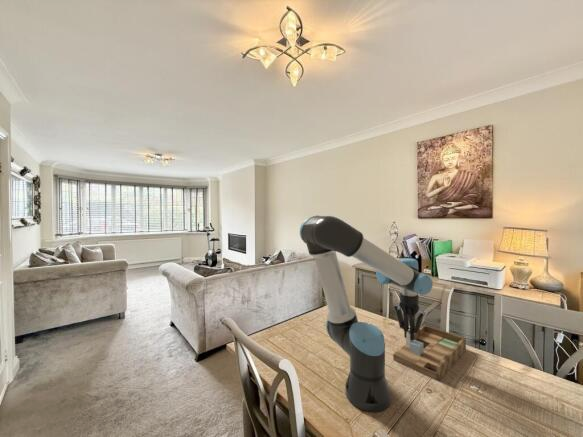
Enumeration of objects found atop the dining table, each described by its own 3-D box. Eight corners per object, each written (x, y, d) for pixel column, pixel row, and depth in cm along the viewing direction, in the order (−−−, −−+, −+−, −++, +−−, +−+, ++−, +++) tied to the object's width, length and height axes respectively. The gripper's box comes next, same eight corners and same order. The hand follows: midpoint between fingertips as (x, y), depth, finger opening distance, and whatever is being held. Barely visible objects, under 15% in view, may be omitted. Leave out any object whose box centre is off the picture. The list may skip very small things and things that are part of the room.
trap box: (439, 381, 92) (439, 367, 91) (393, 360, 105) (393, 347, 105) (465, 349, 112) (465, 338, 112) (424, 335, 126) (424, 324, 126)
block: (419, 355, 104) (419, 346, 104) (410, 351, 107) (410, 342, 107) (423, 352, 106) (423, 343, 106) (414, 348, 109) (414, 339, 109)
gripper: (428, 295, 106) (428, 348, 106) (398, 288, 116) (399, 337, 116) (420, 299, 101) (421, 355, 101) (390, 292, 111) (391, 343, 111)
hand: (409, 345), depth 109 cm, fingers closed
